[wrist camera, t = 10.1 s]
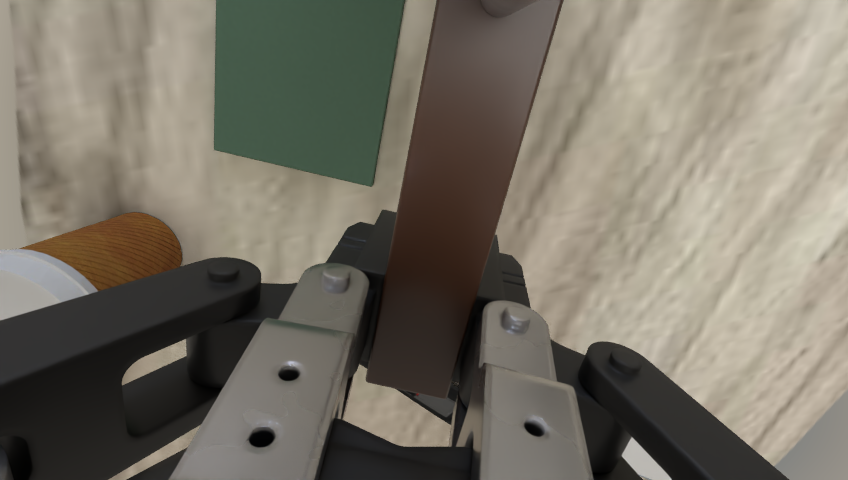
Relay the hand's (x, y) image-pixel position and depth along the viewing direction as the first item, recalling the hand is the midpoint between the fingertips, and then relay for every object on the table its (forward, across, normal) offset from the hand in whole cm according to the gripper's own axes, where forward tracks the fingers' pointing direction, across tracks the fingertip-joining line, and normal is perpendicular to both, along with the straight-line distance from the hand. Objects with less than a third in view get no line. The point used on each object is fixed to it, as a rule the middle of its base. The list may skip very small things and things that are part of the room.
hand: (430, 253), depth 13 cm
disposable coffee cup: (+21, +23, +16) cm, 35 cm away
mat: (+21, +11, -5) cm, 24 cm away
